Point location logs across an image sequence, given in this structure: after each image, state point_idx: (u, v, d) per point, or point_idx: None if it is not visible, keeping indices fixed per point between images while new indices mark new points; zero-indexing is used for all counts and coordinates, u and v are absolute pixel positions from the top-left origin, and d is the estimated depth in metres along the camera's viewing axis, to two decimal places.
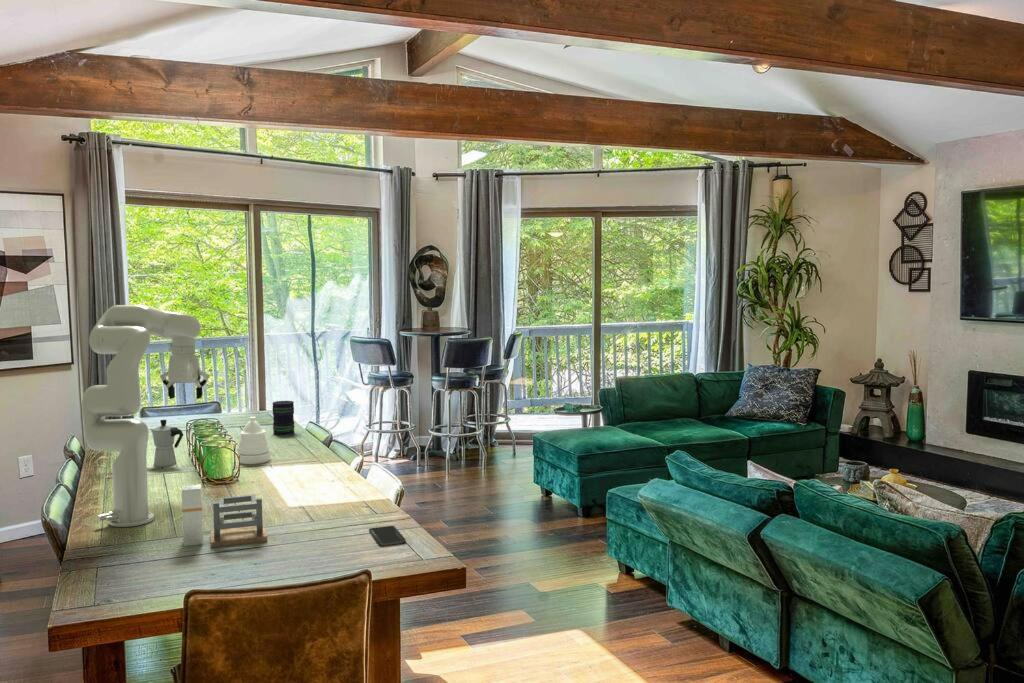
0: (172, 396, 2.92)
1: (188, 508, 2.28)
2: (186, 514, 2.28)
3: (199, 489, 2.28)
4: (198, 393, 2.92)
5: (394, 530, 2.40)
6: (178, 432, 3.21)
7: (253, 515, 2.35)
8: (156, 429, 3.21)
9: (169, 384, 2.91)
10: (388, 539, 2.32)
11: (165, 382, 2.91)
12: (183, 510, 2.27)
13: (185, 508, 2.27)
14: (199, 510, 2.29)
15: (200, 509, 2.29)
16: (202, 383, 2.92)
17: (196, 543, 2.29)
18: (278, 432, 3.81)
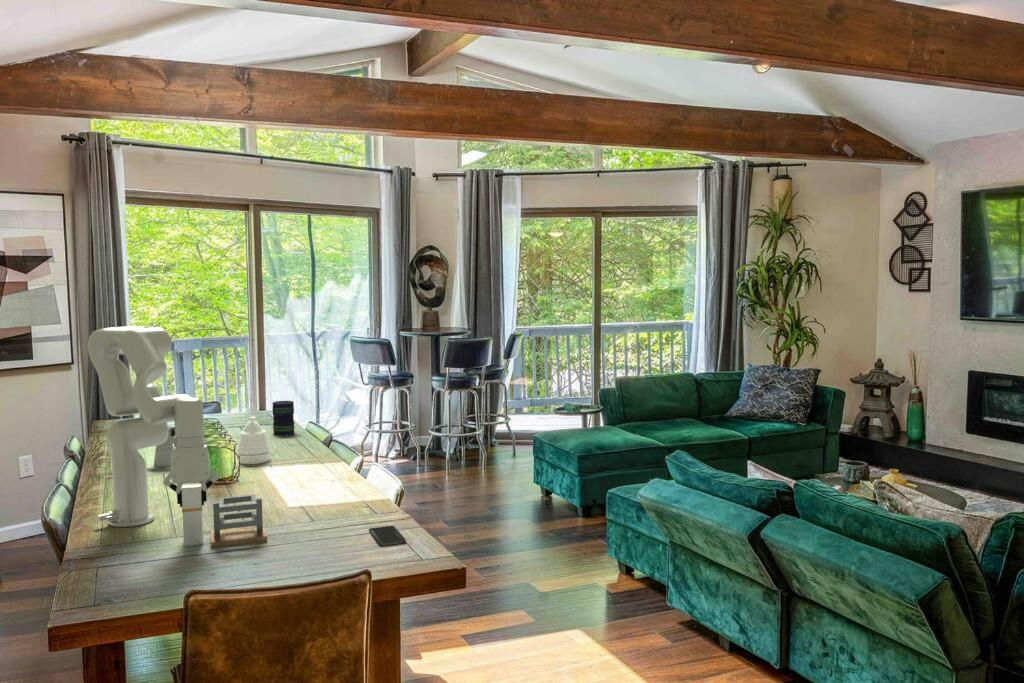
0: None
1: (188, 508, 2.28)
2: (186, 514, 2.28)
3: (199, 489, 2.28)
4: (203, 498, 2.30)
5: (394, 530, 2.40)
6: None
7: (253, 515, 2.35)
8: None
9: (179, 489, 2.28)
10: (389, 539, 2.32)
11: (173, 487, 2.27)
12: (183, 510, 2.27)
13: (185, 508, 2.27)
14: (199, 510, 2.29)
15: (200, 509, 2.29)
16: (208, 485, 2.31)
17: (196, 543, 2.29)
18: (278, 432, 3.81)
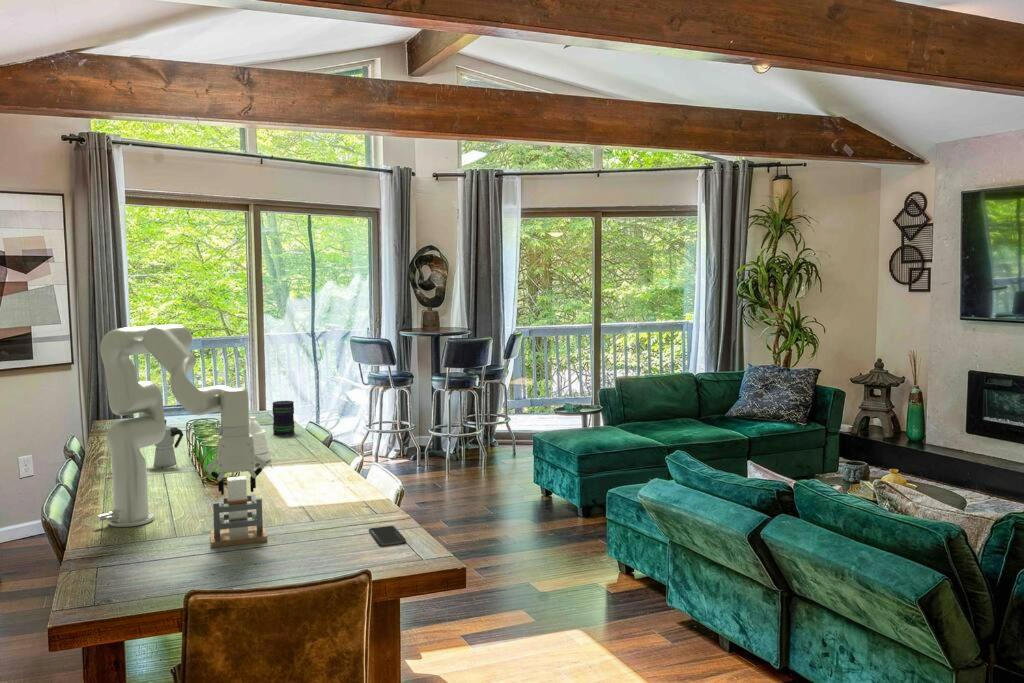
0: (223, 491, 2.31)
1: (234, 500, 2.31)
2: None
3: (244, 481, 2.31)
4: (253, 485, 2.33)
5: (394, 530, 2.40)
6: (178, 432, 3.21)
7: (253, 515, 2.35)
8: None
9: (221, 477, 2.30)
10: (389, 539, 2.32)
11: (214, 474, 2.30)
12: (229, 501, 2.30)
13: (231, 499, 2.30)
14: (244, 501, 2.32)
15: (245, 500, 2.32)
16: (257, 472, 2.34)
17: (241, 534, 2.32)
18: (278, 432, 3.81)
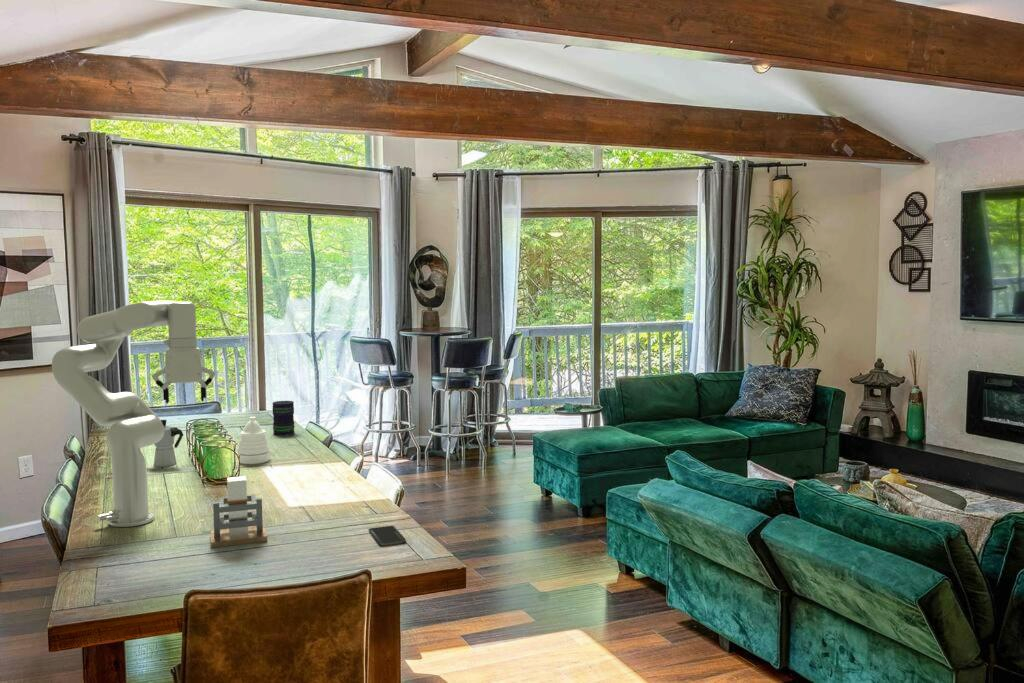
0: (168, 400, 2.39)
1: (234, 500, 2.31)
2: None
3: (244, 481, 2.31)
4: (203, 394, 2.41)
5: (394, 530, 2.40)
6: (178, 432, 3.21)
7: (253, 515, 2.35)
8: None
9: (165, 385, 2.37)
10: (389, 539, 2.32)
11: (159, 383, 2.37)
12: (229, 501, 2.30)
13: (231, 499, 2.30)
14: (244, 501, 2.32)
15: (245, 500, 2.32)
16: (208, 382, 2.42)
17: (241, 534, 2.32)
18: (278, 432, 3.81)
